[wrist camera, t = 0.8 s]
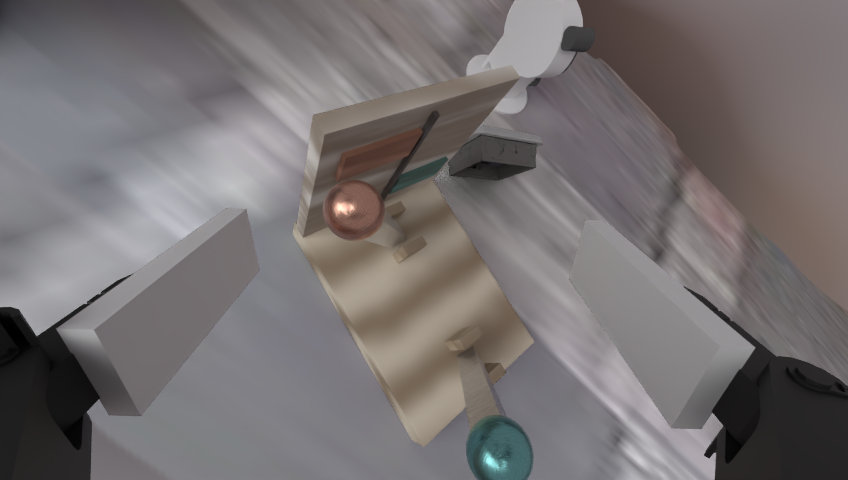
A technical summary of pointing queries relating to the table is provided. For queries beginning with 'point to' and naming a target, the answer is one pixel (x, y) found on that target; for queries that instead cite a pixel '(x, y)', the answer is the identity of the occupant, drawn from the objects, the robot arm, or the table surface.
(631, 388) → the table surface
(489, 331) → the switch unit
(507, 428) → the teal lever
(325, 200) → the terracotta lever
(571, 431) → the table surface
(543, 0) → the panda figurine
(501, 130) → the electrical switch
